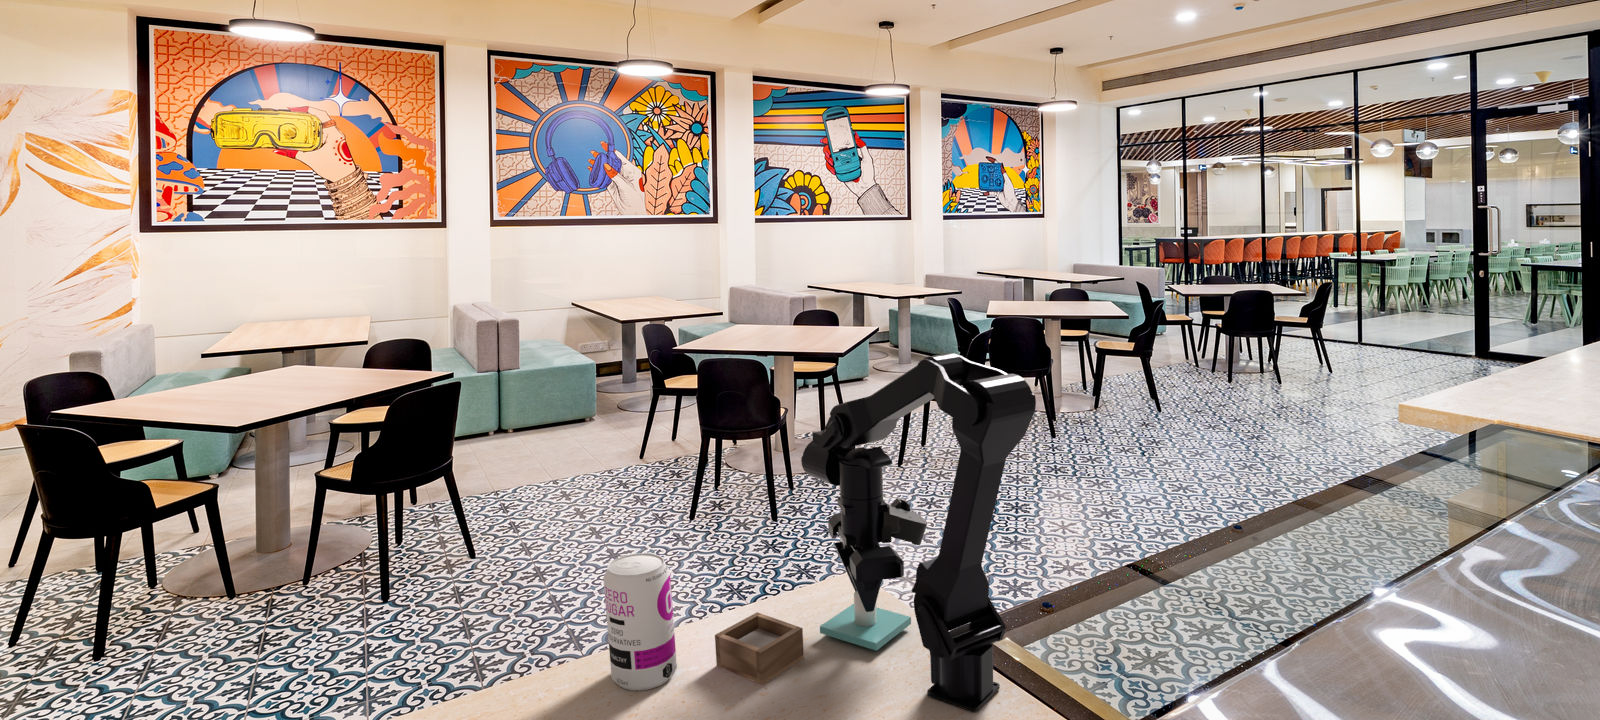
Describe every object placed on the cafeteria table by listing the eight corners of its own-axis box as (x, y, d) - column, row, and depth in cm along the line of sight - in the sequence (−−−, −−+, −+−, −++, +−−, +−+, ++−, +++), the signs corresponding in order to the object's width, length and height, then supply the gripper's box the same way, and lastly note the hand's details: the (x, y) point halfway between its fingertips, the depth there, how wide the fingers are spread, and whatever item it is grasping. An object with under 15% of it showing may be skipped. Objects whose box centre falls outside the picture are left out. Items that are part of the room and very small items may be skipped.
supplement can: (683, 659, 113) (675, 551, 111) (667, 693, 105) (659, 577, 102) (623, 659, 114) (614, 551, 111) (603, 693, 106) (593, 577, 103)
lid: (911, 630, 119) (910, 589, 118) (876, 657, 112) (875, 614, 111) (856, 614, 124) (855, 575, 123) (820, 640, 117) (818, 598, 116)
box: (803, 660, 112) (802, 628, 111) (762, 686, 106) (760, 652, 105) (758, 643, 117) (757, 612, 116) (716, 667, 111) (714, 634, 110)
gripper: (942, 509, 107) (944, 627, 109) (900, 469, 125) (903, 571, 128) (854, 518, 105) (859, 638, 108) (825, 476, 123) (829, 579, 126)
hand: (865, 603), depth 117 cm, fingers open, 4 cm apart
